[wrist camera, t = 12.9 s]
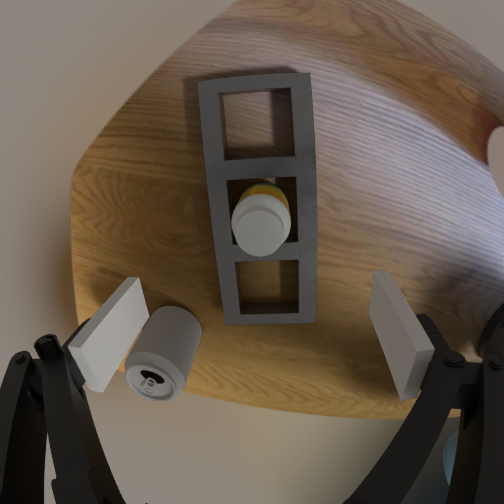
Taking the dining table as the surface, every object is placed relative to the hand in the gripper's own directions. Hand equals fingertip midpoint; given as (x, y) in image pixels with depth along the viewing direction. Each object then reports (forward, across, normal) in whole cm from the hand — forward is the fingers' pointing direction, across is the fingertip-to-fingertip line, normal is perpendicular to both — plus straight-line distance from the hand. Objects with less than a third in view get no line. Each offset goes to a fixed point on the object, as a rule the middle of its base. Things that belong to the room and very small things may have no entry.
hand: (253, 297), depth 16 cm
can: (+19, +13, +16) cm, 28 cm away
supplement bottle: (+19, 0, 0) cm, 19 cm away
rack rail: (+19, 0, 0) cm, 19 cm away
